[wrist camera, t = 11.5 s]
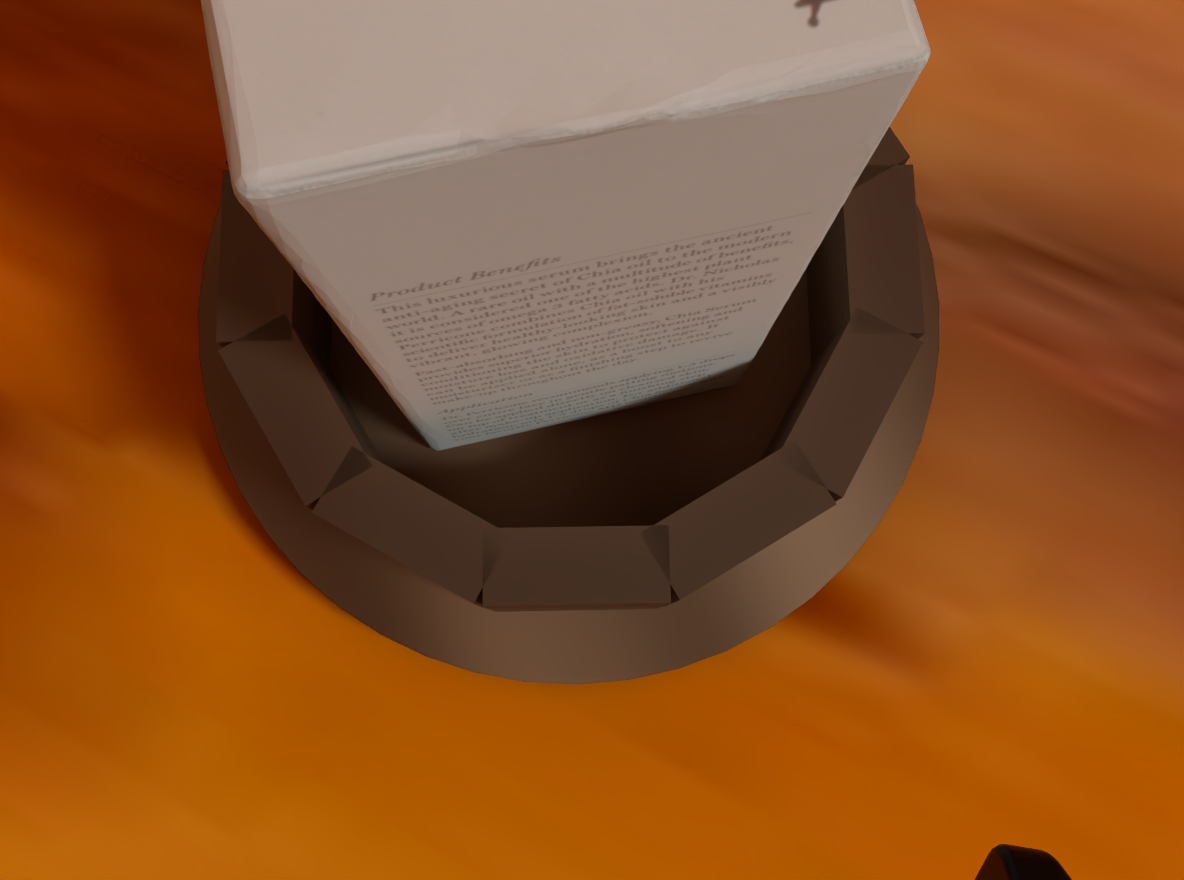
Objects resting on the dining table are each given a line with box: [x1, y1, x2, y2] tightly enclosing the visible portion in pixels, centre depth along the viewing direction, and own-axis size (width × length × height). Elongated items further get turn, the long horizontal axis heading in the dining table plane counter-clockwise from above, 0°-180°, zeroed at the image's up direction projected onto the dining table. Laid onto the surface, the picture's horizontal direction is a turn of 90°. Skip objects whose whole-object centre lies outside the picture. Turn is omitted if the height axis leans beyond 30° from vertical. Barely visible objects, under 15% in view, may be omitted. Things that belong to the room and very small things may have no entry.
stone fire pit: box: [198, 127, 939, 684], centre depth 20 cm, size 14×14×4 cm
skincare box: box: [201, 0, 930, 451], centre depth 15 cm, size 6×4×12 cm
